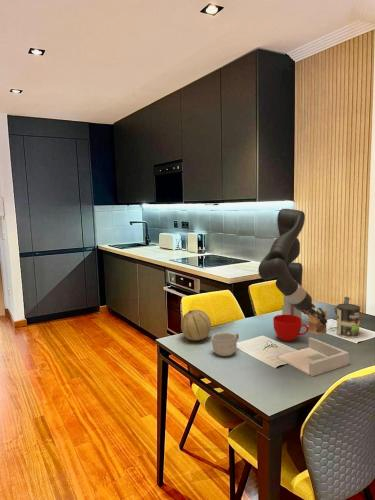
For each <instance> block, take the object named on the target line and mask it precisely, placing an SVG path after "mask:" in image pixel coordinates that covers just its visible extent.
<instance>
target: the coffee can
mask: <svg viewBox="0 0 375 500" xmlns="http://www.w3.org/2000/svg"><path fill="white" fill-rule="evenodd" d="M336 306H337V315H336V335H337V336H340V337H342V338H344V339H345V338H347V339H357V338H359V337H360V322H361V321H360V318H361V316H360V315H361V306H359V305H357V304H354V303H353V304H352V303H349V304H344V303H339V304H337V305H336Z"/></svg>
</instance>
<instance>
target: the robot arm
mask: <svg viewBox="0 0 375 500" xmlns="http://www.w3.org/2000/svg"><path fill="white" fill-rule="evenodd" d="M276 218H277V219H276V220H277V221H276V223H277V224H276V225H277V230H278V235H279V236H278V237H277V238H276V239H275V240H274V241H273V242H272V245H271V247H270V249H269V252H268V253H267V254H266V255H265V256H264V258H263V259H262V260H261V261H260V263H259V264H258V269H257V270H258V271H257V273H258V275H259V277H260V278H261V279H263V280H264V281H269V280H274V279H276V281H275V287H276V288H277V290H278V291H280V292H281V294H282V295H283V305H282V306H281V307H282V312H281V313H282V314H281V315H294V316H298V317H300V318H301V320H302V318H303V316H302V314H303V315H306V316H308V317H309V314H310V315H312V316H313V317H316V318H317V319H318V320H319V321H320V322H321V323H322V324H323V325H325V324H326V325H327V324H328V320H326V319H325V316H326V315H325V314H324V312H323V310H324V309H323V308H321V307H318V308H319V309H318V308H317V306H316V305H315V304H314V303H312V301H313V298H312V296H311V295H310V294H309V293H308V292H307V290H305V288H303V264H302V263H301V262H294V261H295V260H297V258H298V257H299V255H300V253H301V244H300V243H301V242H300V240H299V239H298V237H299V235H300V233H301V232H302V230H303V228H304V226H305V221H306V215H305V212H304V211H302V210H300V209H299V210H298V209H292V208H282V209H280V210H279V211H278V213H277V217H276ZM302 322H303V320H302V321H301V325H302Z"/></svg>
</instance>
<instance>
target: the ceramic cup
mask: <svg viewBox="0 0 375 500" xmlns="http://www.w3.org/2000/svg"><path fill="white" fill-rule="evenodd" d="M272 319H273V321H272V323H273V324H272V325H273V329H274V331H275V334H276V336H277V337H278V338H279V340H281V341H284V342H293V341H295V339H297V337H298V336H303V335H306V334H307V333H308V332H309V325H307V324H305V323H303V324H302V325H301V321H302V322H303V320H301V318H300V317H298V316H294V315H282V314H277V315H275V316H273V318H272ZM302 327H305V329H306V331H304V332H302V333H301V330H302Z"/></svg>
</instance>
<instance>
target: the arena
mask: <svg viewBox="0 0 375 500" xmlns="http://www.w3.org/2000/svg"><path fill="white" fill-rule="evenodd" d="M349 356H350V354H349V351H346V350H343V349H341V348H338V347H336V346H333V345H332V344H329V343H327V342H323V341H321V340H319V339H317V338H314V337H312V336H311V337H308V347H306V348H302V349H298V350H294V351H291V352H287V353H283V354H281V355H277V356H276V358H277V357H278V358H277V359H279V358H280V359H282V360H283V361H282V360H281V361H282V362H284V361H285V362H284V363H286V364H288V365H290V366H292V367H293V368H296V369H297V370H300V371H301V372H303V373H305V374H307V375H309V376H311V377H315V376H318V375H321V374H324V373H327V372H331V371H334V370H336V369H340V368H342V367H346V366H348V365H349V363H350V362H349V359H350V357H349ZM280 359H279V360H280Z"/></svg>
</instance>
